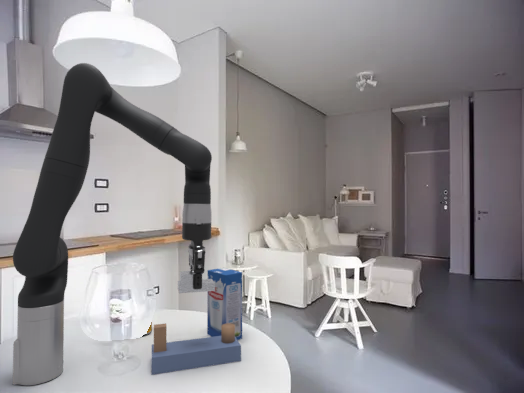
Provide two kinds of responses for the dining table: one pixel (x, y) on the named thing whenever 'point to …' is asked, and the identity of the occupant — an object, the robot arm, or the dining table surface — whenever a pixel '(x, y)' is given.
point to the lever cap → (187, 283)
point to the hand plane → (193, 350)
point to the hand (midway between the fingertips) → (196, 286)
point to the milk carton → (224, 301)
